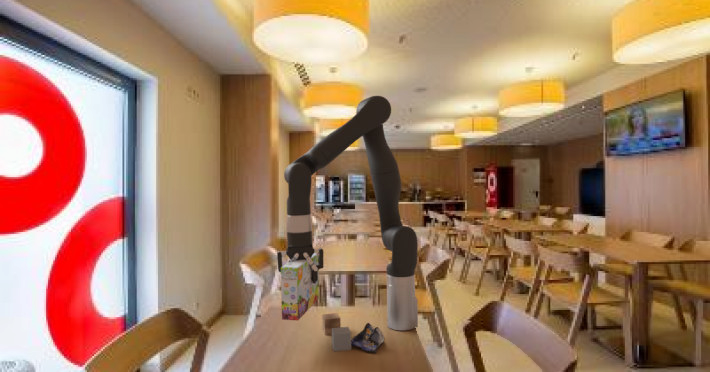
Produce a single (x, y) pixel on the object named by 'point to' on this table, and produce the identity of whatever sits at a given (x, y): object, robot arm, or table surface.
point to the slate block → (341, 339)
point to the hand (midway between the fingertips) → (301, 284)
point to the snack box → (298, 288)
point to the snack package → (368, 338)
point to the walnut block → (330, 322)
